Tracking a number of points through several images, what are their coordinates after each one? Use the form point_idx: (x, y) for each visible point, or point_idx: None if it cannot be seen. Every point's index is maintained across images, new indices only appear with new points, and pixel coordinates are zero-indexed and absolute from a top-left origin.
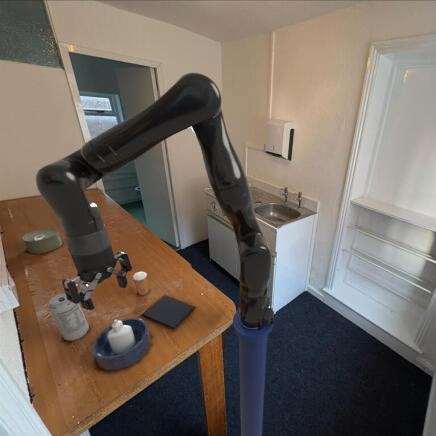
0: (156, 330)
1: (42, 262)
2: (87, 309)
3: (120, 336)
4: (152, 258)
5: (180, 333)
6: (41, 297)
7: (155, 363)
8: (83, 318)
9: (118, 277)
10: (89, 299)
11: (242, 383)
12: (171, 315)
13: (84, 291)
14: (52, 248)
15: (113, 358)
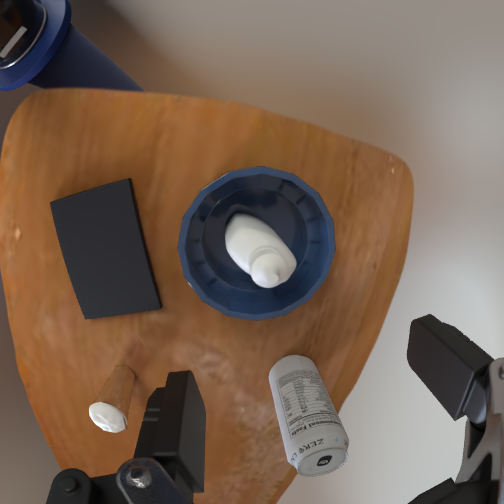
0: (164, 219)
1: None
2: (448, 325)
3: (271, 234)
4: (75, 438)
5: (130, 147)
6: (276, 474)
7: (233, 118)
8: (282, 390)
9: (194, 477)
10: (480, 362)
11: (125, 87)
12: (107, 228)
13: (475, 439)
14: None
15: (314, 190)
